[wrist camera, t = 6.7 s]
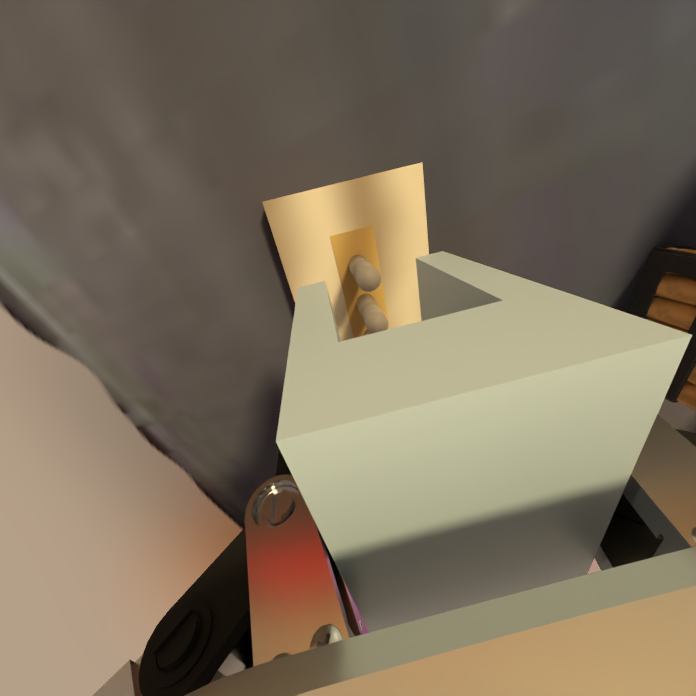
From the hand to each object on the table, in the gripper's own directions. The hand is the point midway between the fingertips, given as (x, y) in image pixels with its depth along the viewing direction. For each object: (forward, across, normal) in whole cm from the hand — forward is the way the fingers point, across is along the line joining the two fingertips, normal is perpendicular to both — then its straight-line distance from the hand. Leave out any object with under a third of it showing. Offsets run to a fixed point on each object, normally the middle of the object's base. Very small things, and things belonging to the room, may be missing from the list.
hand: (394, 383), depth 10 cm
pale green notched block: (+1, 0, 0) cm, 1 cm away
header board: (+11, -1, +3) cm, 11 cm away
